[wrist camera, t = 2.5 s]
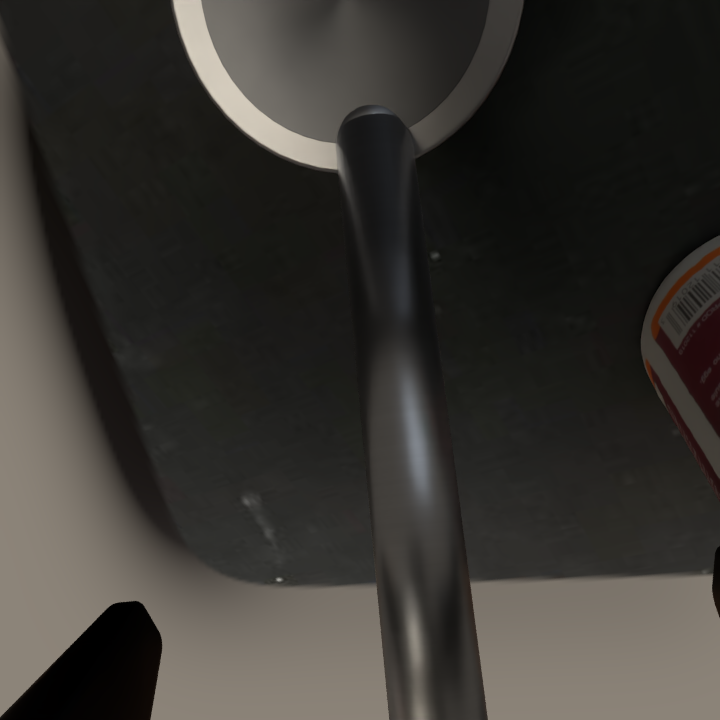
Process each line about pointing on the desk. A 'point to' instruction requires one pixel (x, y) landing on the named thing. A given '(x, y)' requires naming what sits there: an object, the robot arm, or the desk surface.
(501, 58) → the metal ladle
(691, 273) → the pill bottle
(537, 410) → the desk surface
